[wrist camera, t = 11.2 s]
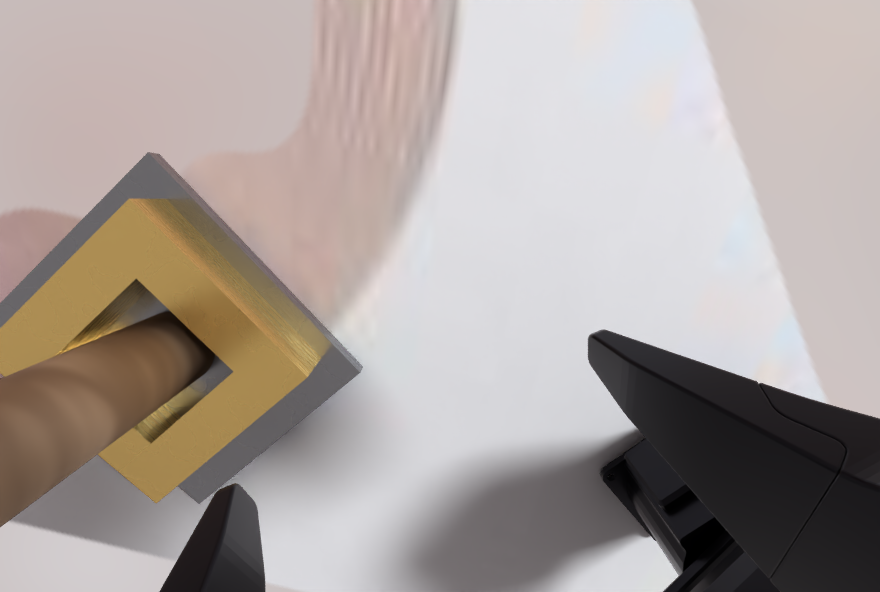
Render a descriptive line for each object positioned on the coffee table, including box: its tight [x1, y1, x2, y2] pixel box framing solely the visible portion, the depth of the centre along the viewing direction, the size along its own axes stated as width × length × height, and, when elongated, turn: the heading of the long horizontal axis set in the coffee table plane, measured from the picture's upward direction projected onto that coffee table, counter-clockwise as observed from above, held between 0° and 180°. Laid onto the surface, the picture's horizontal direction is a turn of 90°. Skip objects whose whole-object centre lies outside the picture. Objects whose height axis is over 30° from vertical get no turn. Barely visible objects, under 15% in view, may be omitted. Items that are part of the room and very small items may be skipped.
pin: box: [0, 311, 215, 527], centre depth 15 cm, size 4×4×14 cm
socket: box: [0, 152, 362, 504], centre depth 21 cm, size 15×13×3 cm
